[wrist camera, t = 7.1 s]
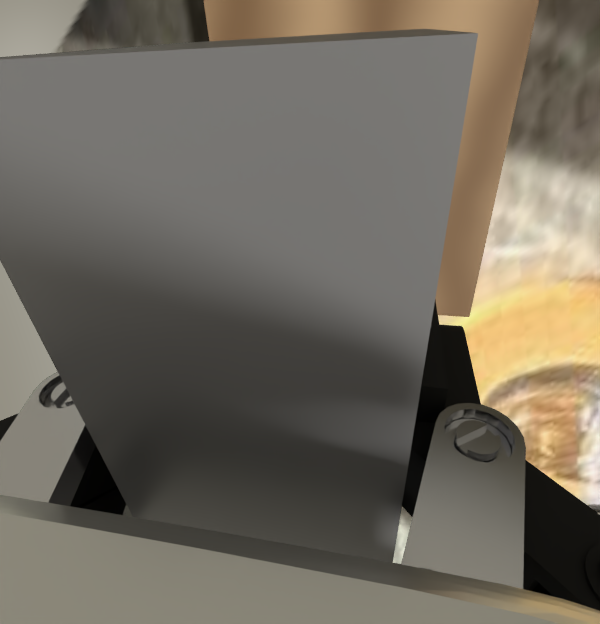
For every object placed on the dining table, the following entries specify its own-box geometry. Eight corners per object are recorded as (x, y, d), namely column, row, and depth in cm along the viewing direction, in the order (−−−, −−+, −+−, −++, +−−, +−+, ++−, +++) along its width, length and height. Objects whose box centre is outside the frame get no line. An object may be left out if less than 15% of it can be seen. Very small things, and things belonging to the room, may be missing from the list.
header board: (534, -23, 17) (582, -43, 12) (465, 303, 26) (479, 360, 21) (215, 2, 20) (161, -7, 15) (253, 290, 28) (226, 338, 24)
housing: (424, 28, 7) (478, 34, 3) (382, 452, 14) (375, 669, 9) (188, 42, 8) (-101, 66, 3) (256, 436, 15) (190, 628, 10)
